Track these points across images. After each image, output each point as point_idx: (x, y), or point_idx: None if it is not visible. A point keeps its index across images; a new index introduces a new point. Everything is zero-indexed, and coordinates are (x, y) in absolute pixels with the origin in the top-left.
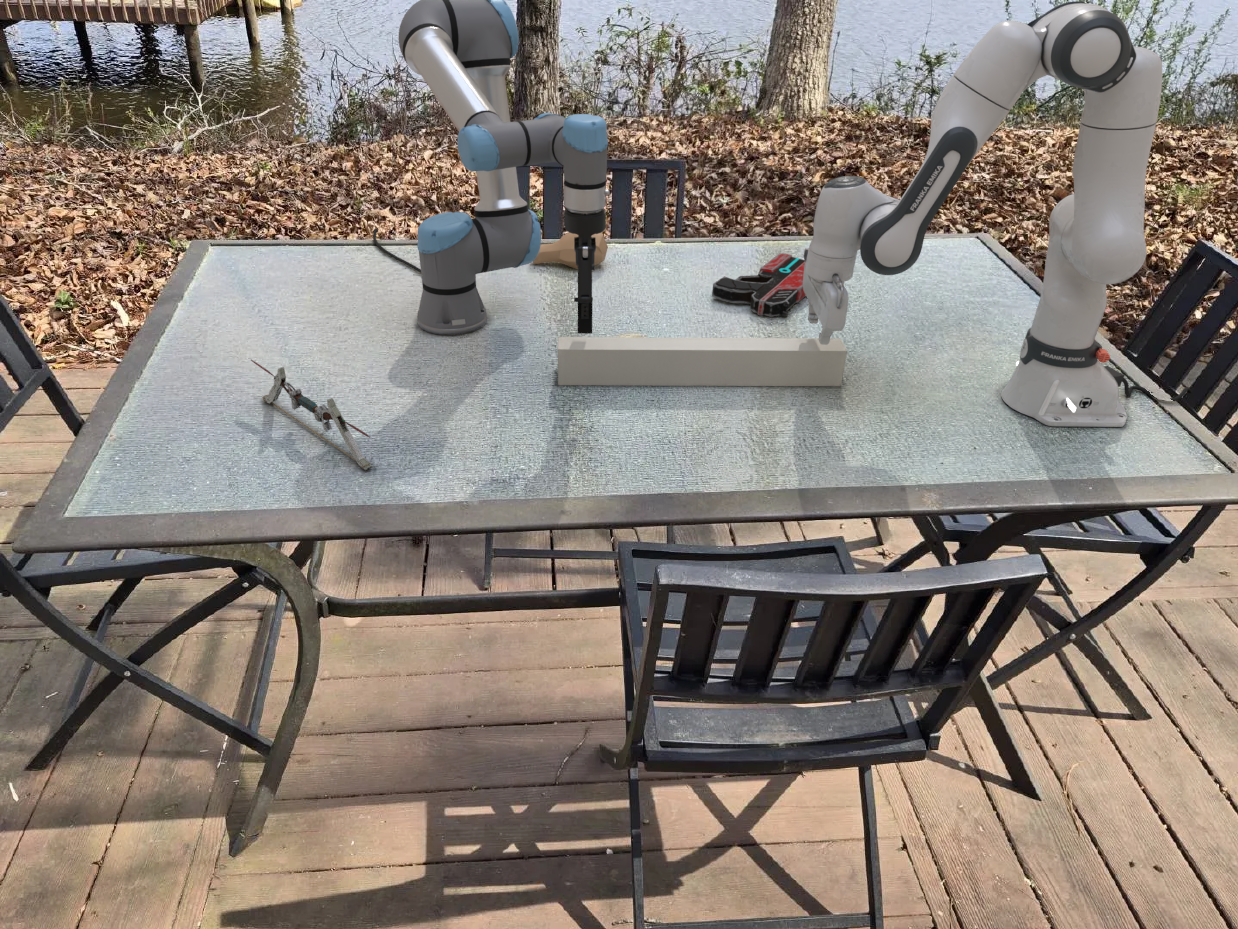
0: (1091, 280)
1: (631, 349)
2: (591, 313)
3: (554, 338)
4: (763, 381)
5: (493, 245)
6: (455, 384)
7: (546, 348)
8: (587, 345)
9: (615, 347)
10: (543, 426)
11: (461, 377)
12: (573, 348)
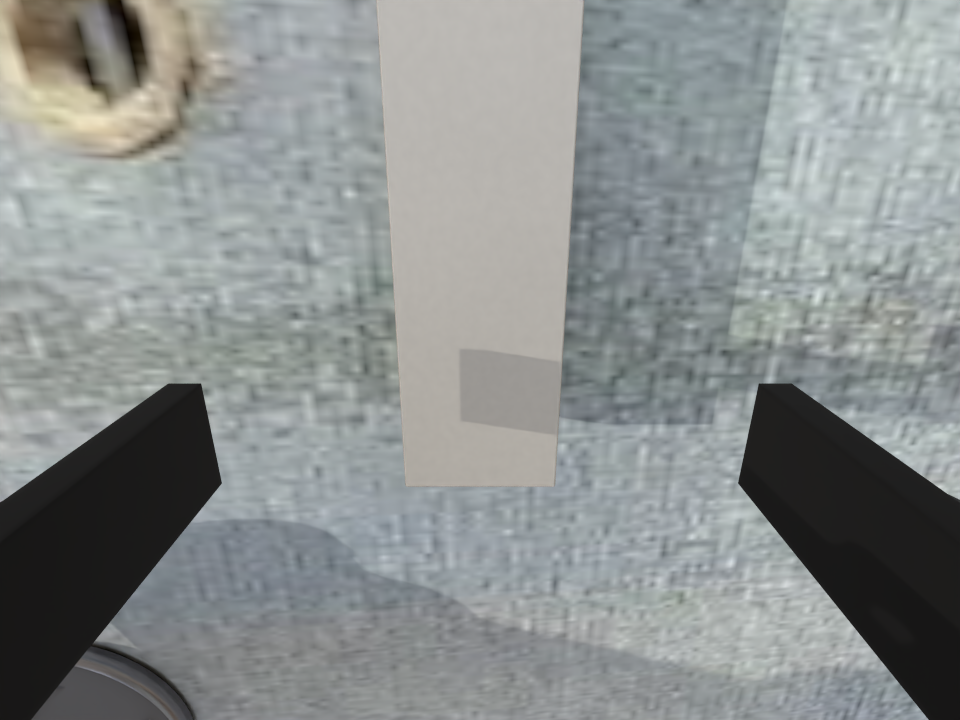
0: None
1: (579, 47)
2: (931, 493)
3: None
4: None
5: None
6: (518, 677)
7: (225, 445)
8: (512, 340)
9: (542, 166)
10: None
11: (473, 668)
12: (547, 413)
